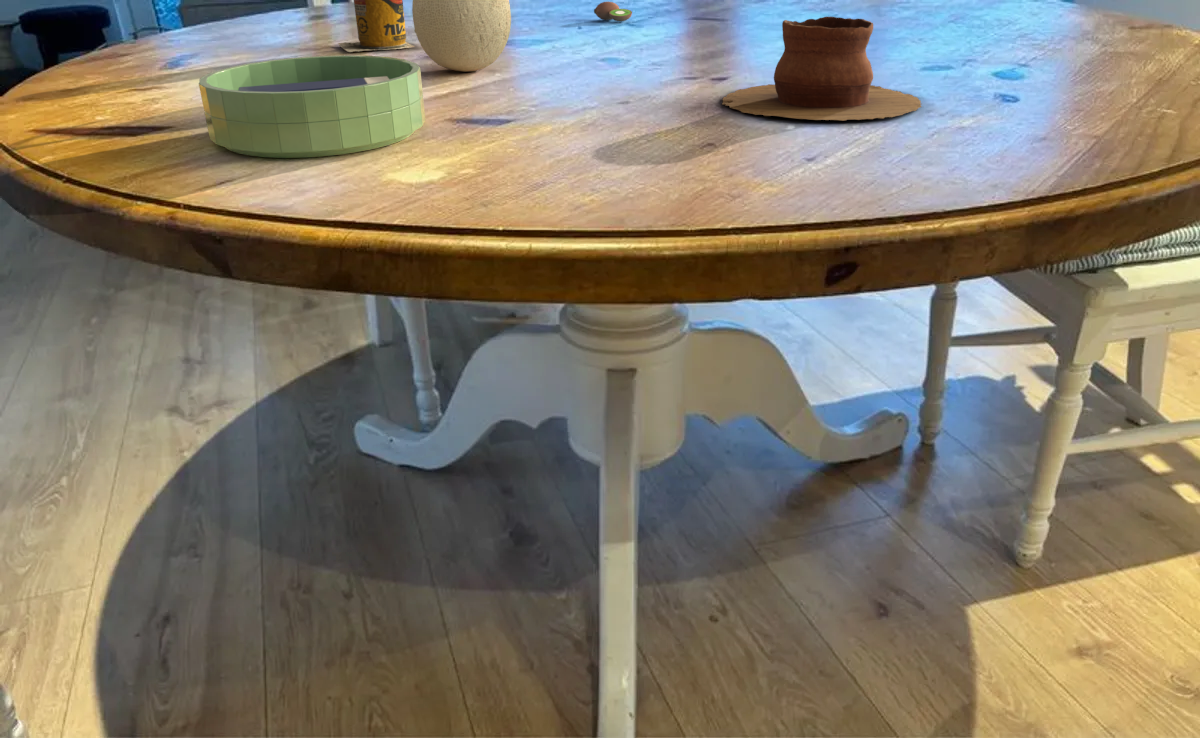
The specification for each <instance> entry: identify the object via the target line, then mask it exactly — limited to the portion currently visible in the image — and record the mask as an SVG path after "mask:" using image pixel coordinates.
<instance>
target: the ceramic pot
mask: <svg viewBox="0 0 1200 738" xmlns="http://www.w3.org/2000/svg"><path fill="white" fill-rule="evenodd" d="M781 23H782V25H781V26H782V40H783V41H782V42H783V45H784V50H783V53H782V55H781V57H780V59H779V60H778V62H777V64H776V66H775V68H774V74H773V81H774V84H772V83H771V84H766V85H765V84H762V85H755V86H750V87H747V88H740V89H736V90H735V91H734V92H729V93H728V94H726V96H723V98H722V103H721V105H724V106H727V107H728V106H729V108H730V109H733V110H737V111H740V113H744V114H745V113H746V114H752V115H754V116H757V115H761V116H762V115H763V116H764V117H771V116H773V117H780V118H787V119H797V120H811V121H821V120H823V121H824V120H825V121H829V120H830V121H842V122H843V121H847V120H857V121H860V120H861V121H862V120H874V119H885V118H895V117H898V116H903V115H905V114H908V113H912V112H916V111H917V110H918V109H920V108H922V100H920V98H918V97H917V96H914V95H913V94H910V93H903V92H902V91H898V90H893V89H890V88H884V87H882V86H880V85H878V86H877V85H872V82H873V81H874V71H873V68H872V64H871V61H870V60H869V58H868V55H867V47H868V46H869V45H868V44H869V42H870V39H871V36H872V35H873V31H874V22H872V21H870V20H867V19H864V18H851V17H847V18H845V17H837V16H822V17H819V18H816V19H815V18H809V19H806V20H804V21H801V22H799V21H797V20H794V21H792V20H788V19H784V20H782V22H781Z"/></svg>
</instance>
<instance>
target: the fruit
mask: <svg viewBox="0 0 1200 738" xmlns="http://www.w3.org/2000/svg"><path fill="white" fill-rule="evenodd" d="M411 11H412V12H411V13H412V22H413V27H414V33H415V34H416V38H417V39H418V42H419V44H420V46H421V48H422V49H423V51H424V53H425V54H426V55H427V57H428V58H430V60H431V61H433V62H434V63H435V64H437V65H438V66H439V67H442V68H444V69H448V70H451V71H455V72H464V73H465V72H476V71H480V70H483V69H486V68H487V67H489V66H490V65H492V64H494V63H495V62H496V61H497V60H498V58H499V57H500V56H501V54H502V53H503V51H504V49H505V47H506V46H507V43H508V40H509V38H510V35H511V34H510V33H511V26H512V13H511V6H510V0H412V7H411Z"/></svg>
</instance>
